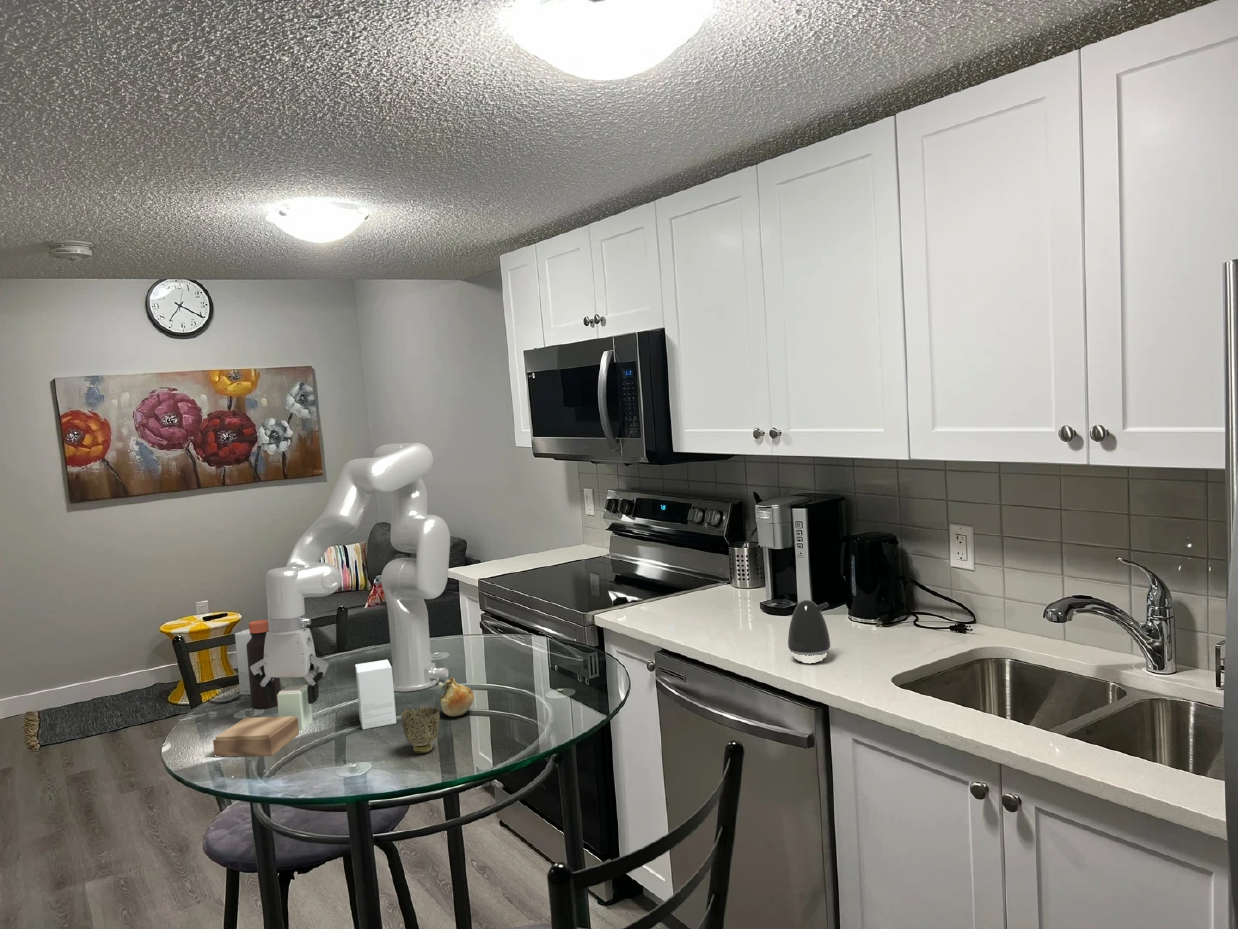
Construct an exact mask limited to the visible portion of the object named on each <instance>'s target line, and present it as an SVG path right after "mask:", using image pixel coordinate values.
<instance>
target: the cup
mask: <svg viewBox="0 0 1238 929" xmlns="http://www.w3.org/2000/svg"><path fill="white" fill-rule="evenodd" d="M440 711H441V710H440V707H439V708H438V706H436V705H435V706H434V707H432V706H431V705H429V706H428V707H427V706H426V705H423V706H422V707H421V705H419V706H418V707H417V709H415V708H414V707H411V710H409V709H404V712H403V711H402V712H401V715H400V718H401V722H402V727H403V734H404V737H405V740H406V741H407V743H408V744H410V745H412V746H413V747H412V748H413V749H412V750H413V751H414V753H415V754H420V755H421V754H422V755H423V754H427V753H429V752H430V751H431V750H432V749H433V746H434V745H433V743H434V742H435V740H436V739H437V737H438V735H439V732H440V731H439V729H440Z"/></svg>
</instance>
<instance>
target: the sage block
mask: <svg viewBox="0 0 1238 929" xmlns="http://www.w3.org/2000/svg"><path fill="white" fill-rule="evenodd" d="M308 686H309V685H307V684H305V685H304V684H303V685H287V686H286V687H284V688H283V689H281V691H280V692H279V693H278V694H277V700H278V705H277V708H278V709H277V711H278V717H286V716H295V718H298V725H299V731H303V730H304V729H306V728H307V727H308V726H309V725H311V724H312V723H313V712H312V704H309V703H308V691H307V687H308ZM311 722H312V723H311ZM310 723H311V724H310ZM308 724H309V725H308ZM307 725H308V726H307ZM306 726H307V727H306ZM305 727H306V728H305Z"/></svg>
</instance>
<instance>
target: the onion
mask: <svg viewBox="0 0 1238 929" xmlns="http://www.w3.org/2000/svg"><path fill="white" fill-rule="evenodd" d="M437 686H438V688H439V689H440V690H442V691H444V692H443V693H442V694H441V696H440V698H439V699H440V700H439V702H440V707H441V710H442V712H443V713H444V714H445V715H447V716H448V717H453V718H455V717H459V716H464V715H465V714H466V713H467V712H468V711H469V710H470V708H471V707H472V705H473V704H474V700H475V696H474V692H473V690H472V689H471V688H470V687H468V686H465V685H464V684H460V683H457V682H456V679H455V678H454V677H450V678H449V679H446V681H445V682H441V681H439V682H438V683H437Z"/></svg>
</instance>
